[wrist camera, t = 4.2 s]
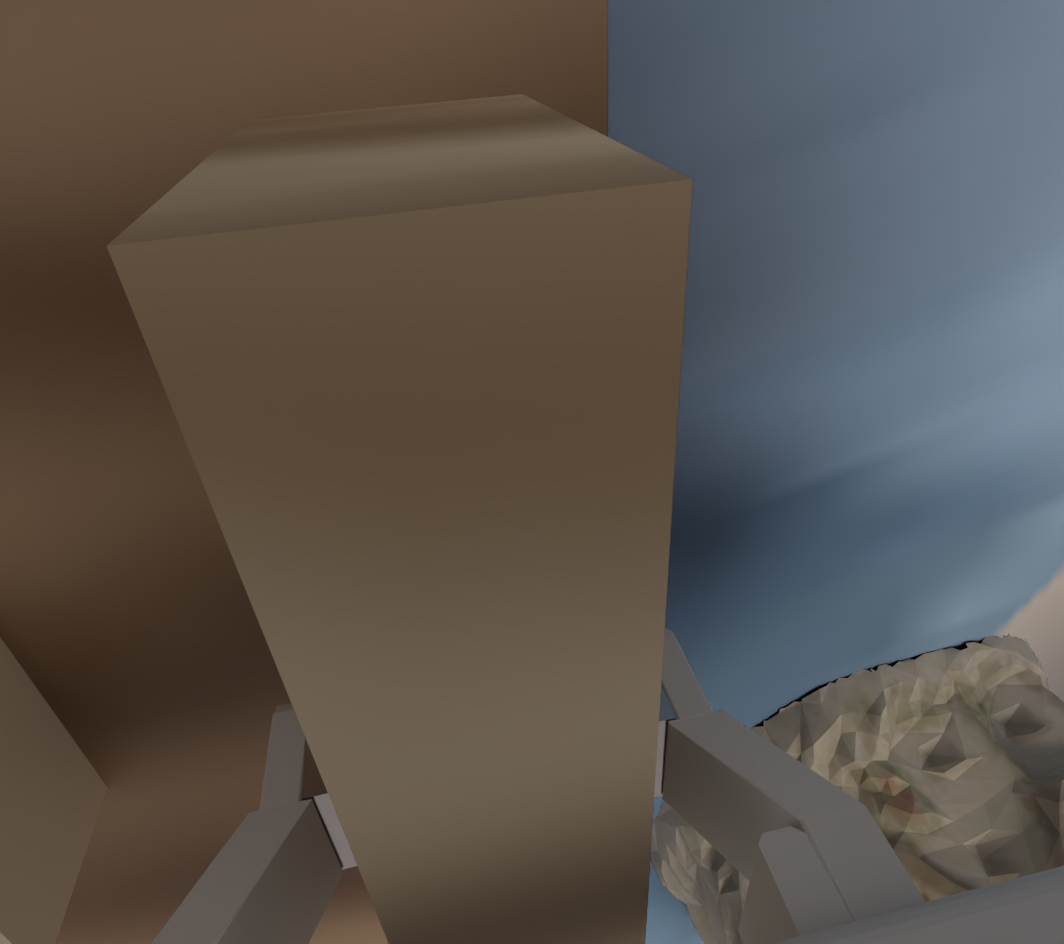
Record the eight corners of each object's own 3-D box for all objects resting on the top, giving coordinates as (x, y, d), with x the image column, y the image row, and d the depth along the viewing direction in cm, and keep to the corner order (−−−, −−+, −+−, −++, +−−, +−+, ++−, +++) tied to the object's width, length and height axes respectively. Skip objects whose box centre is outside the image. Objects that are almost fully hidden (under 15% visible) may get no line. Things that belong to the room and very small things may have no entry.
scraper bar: (250, 119, 7) (104, 245, 3) (522, 94, 8) (692, 179, 4) (446, 868, 16) (473, 1152, 12) (569, 840, 17) (634, 1106, 13)
